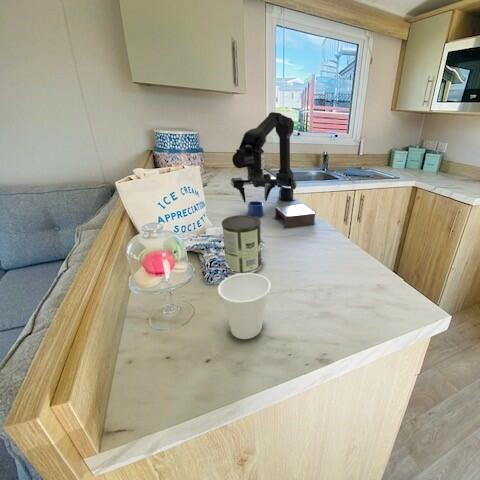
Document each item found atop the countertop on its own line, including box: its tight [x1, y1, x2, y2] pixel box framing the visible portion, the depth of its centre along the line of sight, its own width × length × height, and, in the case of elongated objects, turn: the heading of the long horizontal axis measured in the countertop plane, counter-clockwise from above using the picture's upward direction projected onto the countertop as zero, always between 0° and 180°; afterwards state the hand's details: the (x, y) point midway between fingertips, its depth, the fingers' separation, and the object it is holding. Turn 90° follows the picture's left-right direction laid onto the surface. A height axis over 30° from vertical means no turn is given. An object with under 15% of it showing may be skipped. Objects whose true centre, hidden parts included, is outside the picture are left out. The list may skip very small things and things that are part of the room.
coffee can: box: [221, 214, 262, 275], centre depth 78 cm, size 10×10×14 cm
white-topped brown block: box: [274, 204, 316, 229], centre depth 116 cm, size 13×12×5 cm
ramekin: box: [247, 200, 264, 218], centre depth 120 cm, size 6×6×5 cm
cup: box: [217, 272, 272, 340], centre depth 55 cm, size 10×10×11 cm
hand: (255, 201), depth 119 cm, fingers open, 9 cm apart
